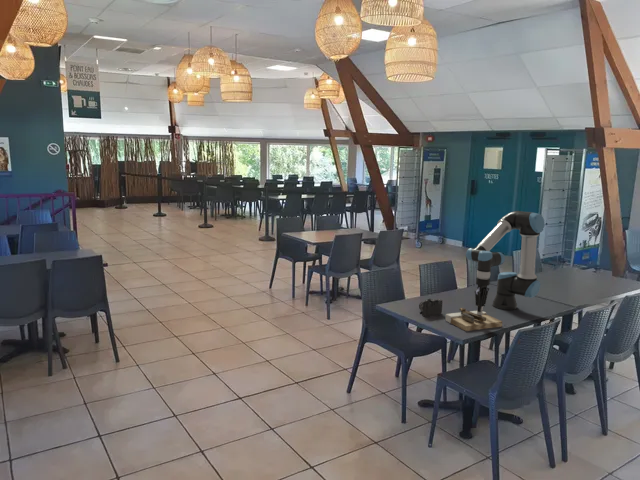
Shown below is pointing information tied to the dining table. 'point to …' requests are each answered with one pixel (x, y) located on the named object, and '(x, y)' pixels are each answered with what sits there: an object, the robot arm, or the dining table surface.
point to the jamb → (458, 315)
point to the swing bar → (474, 315)
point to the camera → (431, 307)
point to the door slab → (476, 323)
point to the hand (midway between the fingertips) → (479, 316)
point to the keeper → (468, 318)
